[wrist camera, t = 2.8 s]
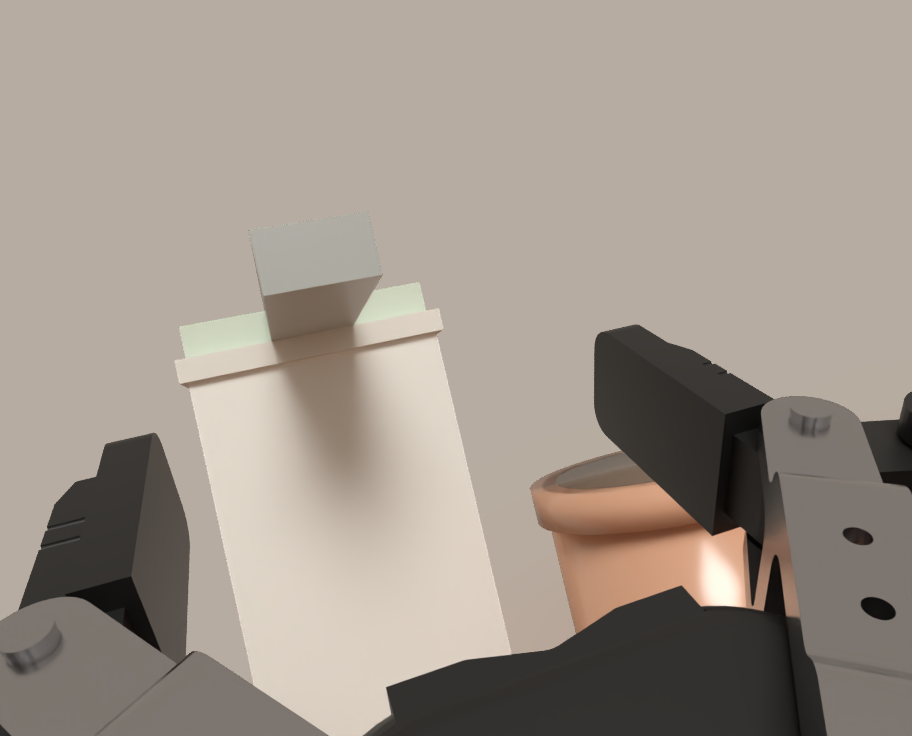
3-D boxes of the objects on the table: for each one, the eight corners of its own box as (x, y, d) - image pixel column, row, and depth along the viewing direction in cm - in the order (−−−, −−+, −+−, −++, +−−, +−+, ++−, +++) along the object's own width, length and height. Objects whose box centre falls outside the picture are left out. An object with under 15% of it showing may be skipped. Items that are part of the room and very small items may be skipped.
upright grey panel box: (344, 1143, 27) (174, 360, 28) (322, 858, 45) (219, 390, 46) (603, 1010, 30) (438, 308, 31) (484, 793, 48) (383, 355, 49)
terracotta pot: (772, 1210, 22) (602, 508, 23) (603, 939, 33) (496, 483, 34) (1040, 1036, 25) (881, 425, 26) (800, 844, 36) (696, 428, 37)
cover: (127, 320, 19) (113, 251, 19) (219, 385, 43) (212, 355, 43) (495, 254, 21) (480, 194, 22) (386, 350, 46) (379, 321, 46)
